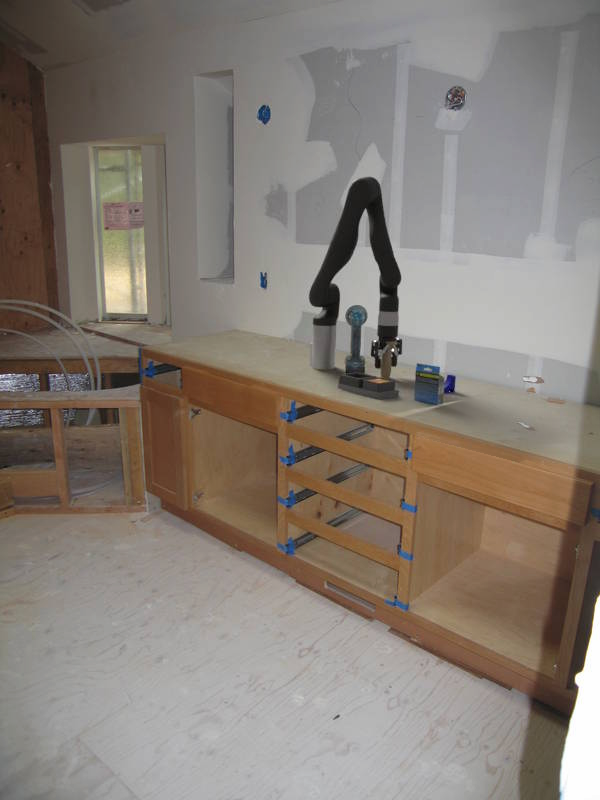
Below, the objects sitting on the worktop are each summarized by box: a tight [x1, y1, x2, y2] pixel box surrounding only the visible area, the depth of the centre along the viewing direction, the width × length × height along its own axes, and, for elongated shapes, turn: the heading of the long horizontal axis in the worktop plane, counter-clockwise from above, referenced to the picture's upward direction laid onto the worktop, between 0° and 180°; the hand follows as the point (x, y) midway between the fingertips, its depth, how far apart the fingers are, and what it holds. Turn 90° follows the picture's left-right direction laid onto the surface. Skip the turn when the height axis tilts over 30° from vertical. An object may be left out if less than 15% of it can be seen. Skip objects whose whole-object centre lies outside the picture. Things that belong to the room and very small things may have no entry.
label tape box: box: [413, 362, 446, 405], centre depth 205 cm, size 9×4×12 cm, turn 48°
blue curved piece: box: [444, 374, 457, 394], centre depth 220 cm, size 12×4×6 cm, turn 110°
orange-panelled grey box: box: [337, 371, 400, 400], centre depth 217 cm, size 20×9×5 cm, turn 40°
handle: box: [380, 341, 396, 380], centre depth 237 cm, size 5×6×15 cm
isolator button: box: [368, 379, 389, 383], centre depth 213 cm, size 6×6×2 cm
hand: (385, 367), depth 237 cm, fingers open, 8 cm apart
